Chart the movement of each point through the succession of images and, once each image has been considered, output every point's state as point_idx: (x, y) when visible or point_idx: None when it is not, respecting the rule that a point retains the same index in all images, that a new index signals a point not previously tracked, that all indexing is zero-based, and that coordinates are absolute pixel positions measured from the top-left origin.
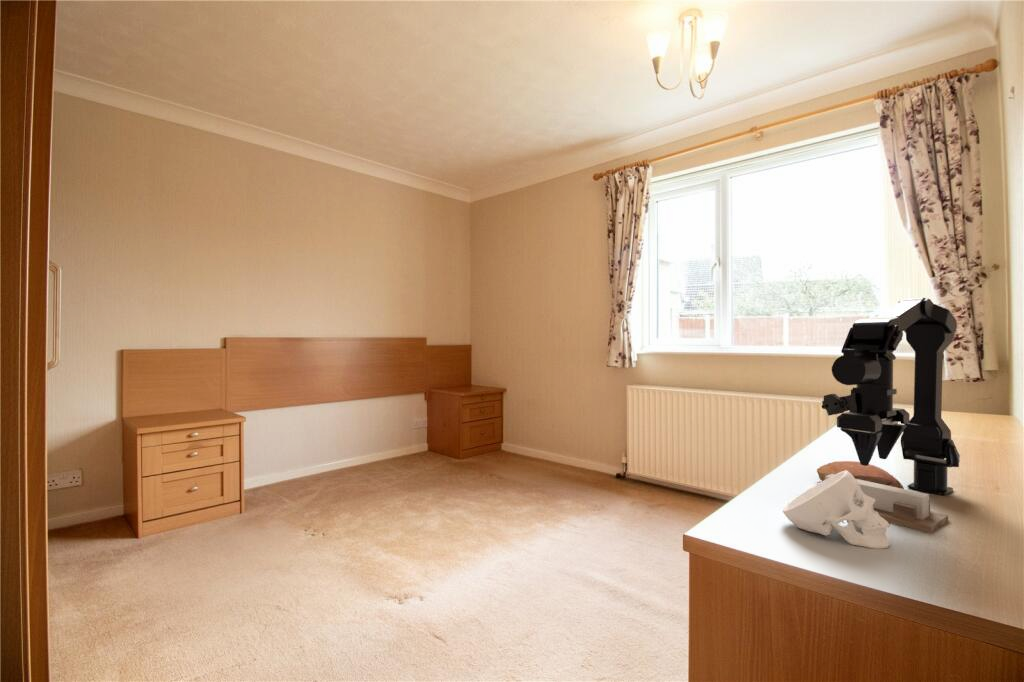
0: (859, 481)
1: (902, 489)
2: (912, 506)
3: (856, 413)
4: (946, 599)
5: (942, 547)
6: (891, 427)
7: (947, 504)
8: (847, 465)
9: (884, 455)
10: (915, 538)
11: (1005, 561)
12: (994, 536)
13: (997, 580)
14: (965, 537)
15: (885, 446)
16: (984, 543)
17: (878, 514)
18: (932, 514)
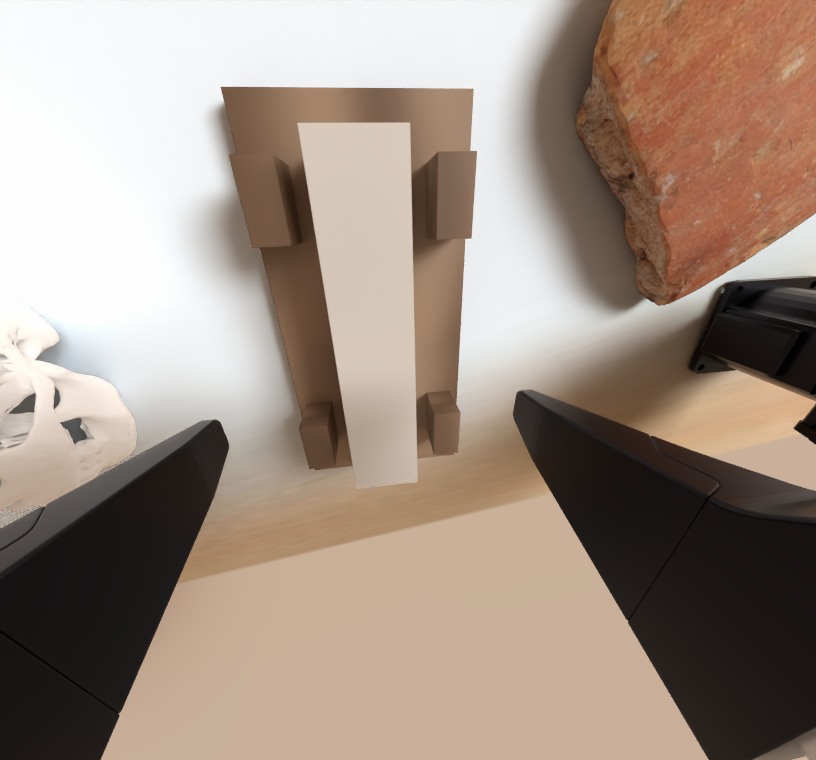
0: (376, 299)
1: (404, 430)
2: (323, 462)
3: None
4: None
5: (248, 496)
6: (740, 700)
7: (600, 399)
8: (809, 34)
9: (524, 425)
10: (244, 459)
11: (290, 548)
12: (418, 506)
13: (184, 568)
14: (360, 492)
15: (564, 471)
16: (356, 513)
17: (25, 506)
18: (428, 437)
